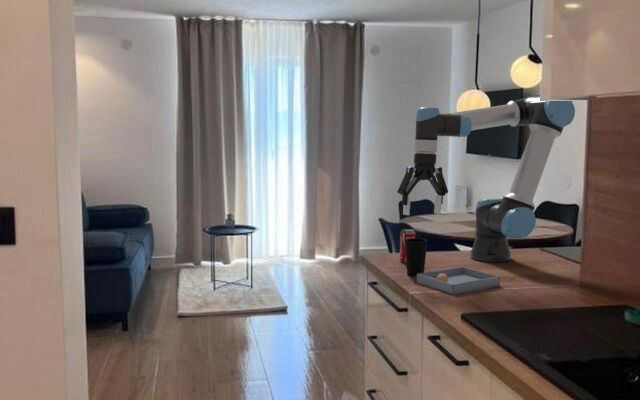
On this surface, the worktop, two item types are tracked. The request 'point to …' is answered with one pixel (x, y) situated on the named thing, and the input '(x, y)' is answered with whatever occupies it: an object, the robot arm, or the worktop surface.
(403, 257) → the beverage can
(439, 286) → the tray
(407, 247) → the cup
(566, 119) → the robot arm
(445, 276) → the ball
